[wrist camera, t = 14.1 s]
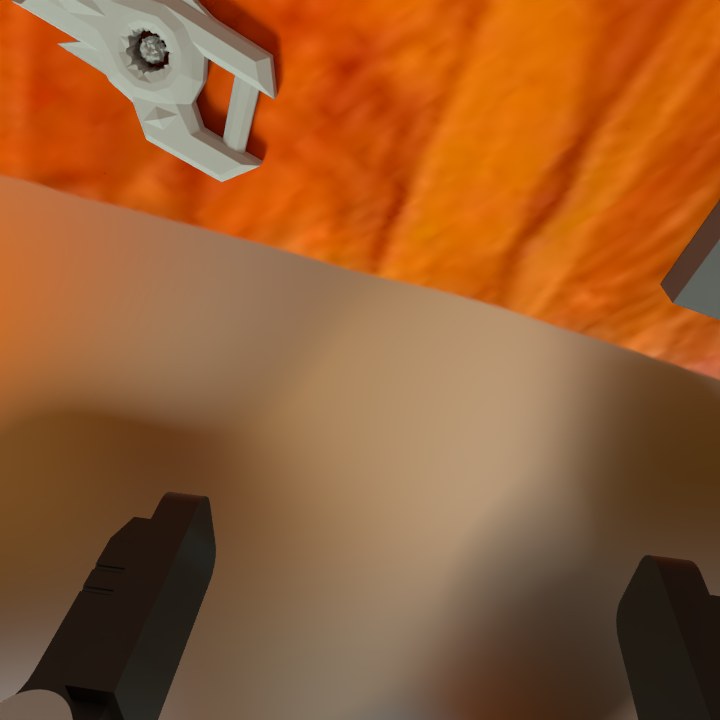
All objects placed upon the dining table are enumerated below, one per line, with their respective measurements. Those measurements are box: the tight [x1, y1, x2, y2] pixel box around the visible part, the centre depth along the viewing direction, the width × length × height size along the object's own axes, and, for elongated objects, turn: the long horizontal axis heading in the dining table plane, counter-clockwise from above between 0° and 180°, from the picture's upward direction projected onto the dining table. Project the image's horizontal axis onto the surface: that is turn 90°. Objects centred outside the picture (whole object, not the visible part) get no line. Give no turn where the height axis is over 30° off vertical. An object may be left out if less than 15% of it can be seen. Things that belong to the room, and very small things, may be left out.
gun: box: [11, 0, 277, 182], centre depth 40 cm, size 18×4×10 cm
